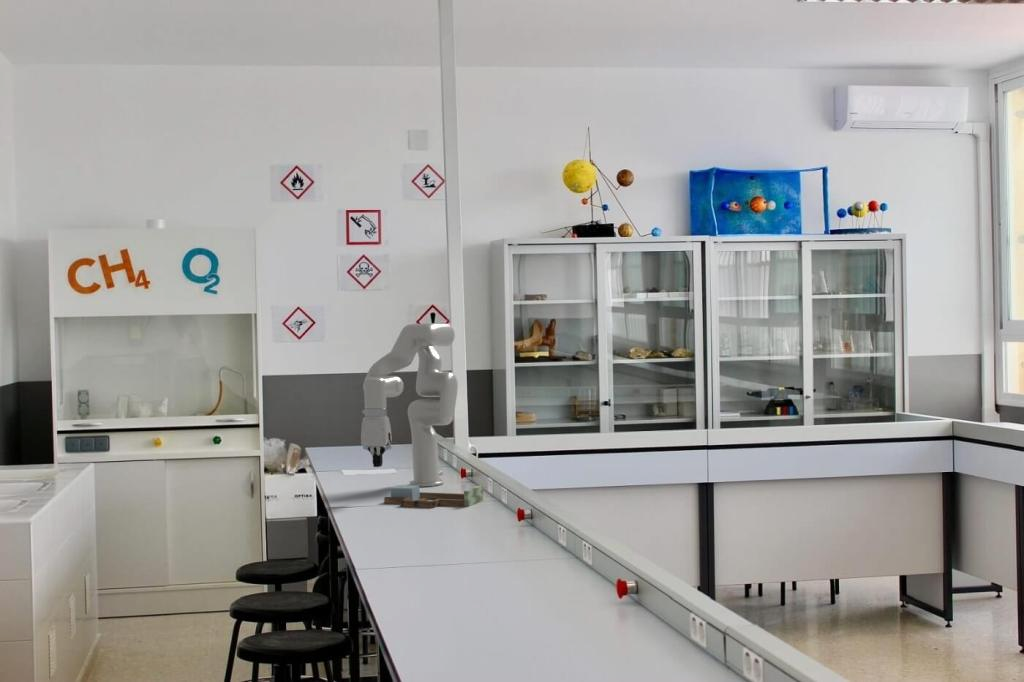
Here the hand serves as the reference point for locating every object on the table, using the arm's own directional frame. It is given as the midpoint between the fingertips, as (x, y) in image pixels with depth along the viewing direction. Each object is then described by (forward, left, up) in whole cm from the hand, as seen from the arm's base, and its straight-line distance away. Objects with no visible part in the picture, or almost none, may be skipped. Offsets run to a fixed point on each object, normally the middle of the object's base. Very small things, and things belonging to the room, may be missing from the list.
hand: (377, 466), depth 380 cm
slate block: (-1, +10, -12) cm, 16 cm away
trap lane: (+1, +21, -12) cm, 24 cm away
